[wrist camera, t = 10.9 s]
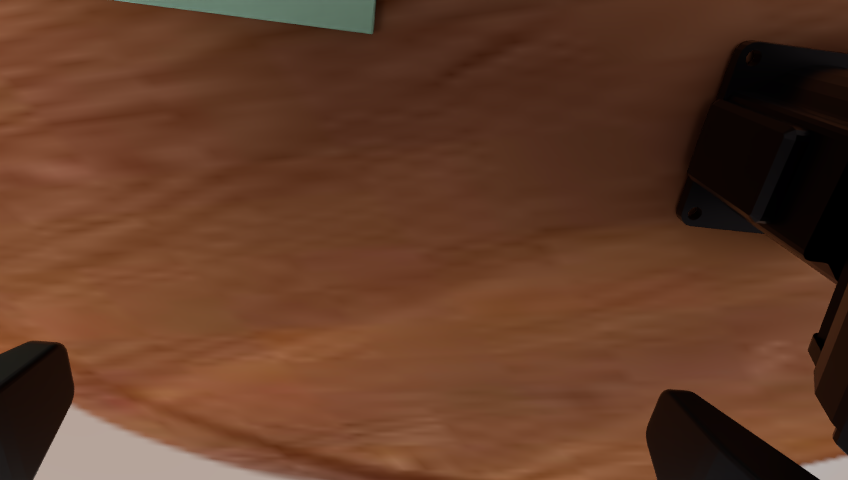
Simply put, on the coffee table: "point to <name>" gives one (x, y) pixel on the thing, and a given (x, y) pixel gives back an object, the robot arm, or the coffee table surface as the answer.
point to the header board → (287, 11)
